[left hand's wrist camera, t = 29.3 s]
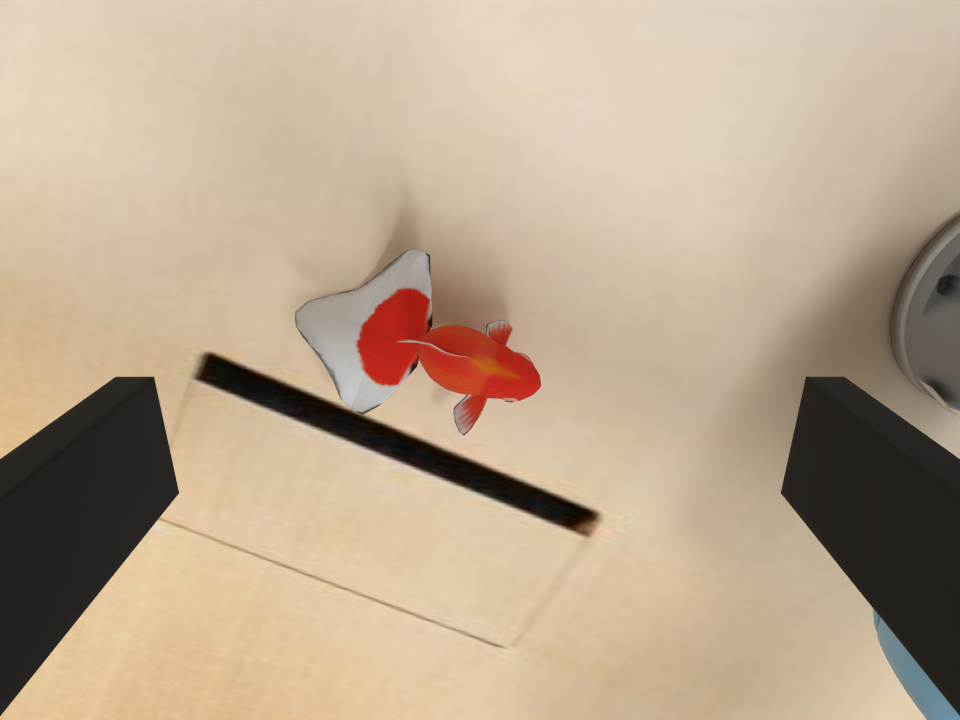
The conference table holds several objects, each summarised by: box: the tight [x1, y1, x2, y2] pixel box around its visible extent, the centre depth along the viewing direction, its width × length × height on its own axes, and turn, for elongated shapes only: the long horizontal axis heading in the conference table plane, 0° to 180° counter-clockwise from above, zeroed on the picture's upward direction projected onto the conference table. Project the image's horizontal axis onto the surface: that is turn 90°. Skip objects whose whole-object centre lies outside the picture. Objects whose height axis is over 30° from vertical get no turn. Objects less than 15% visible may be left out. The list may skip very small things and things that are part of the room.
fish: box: [295, 250, 541, 435], centre depth 38 cm, size 11×16×10 cm
